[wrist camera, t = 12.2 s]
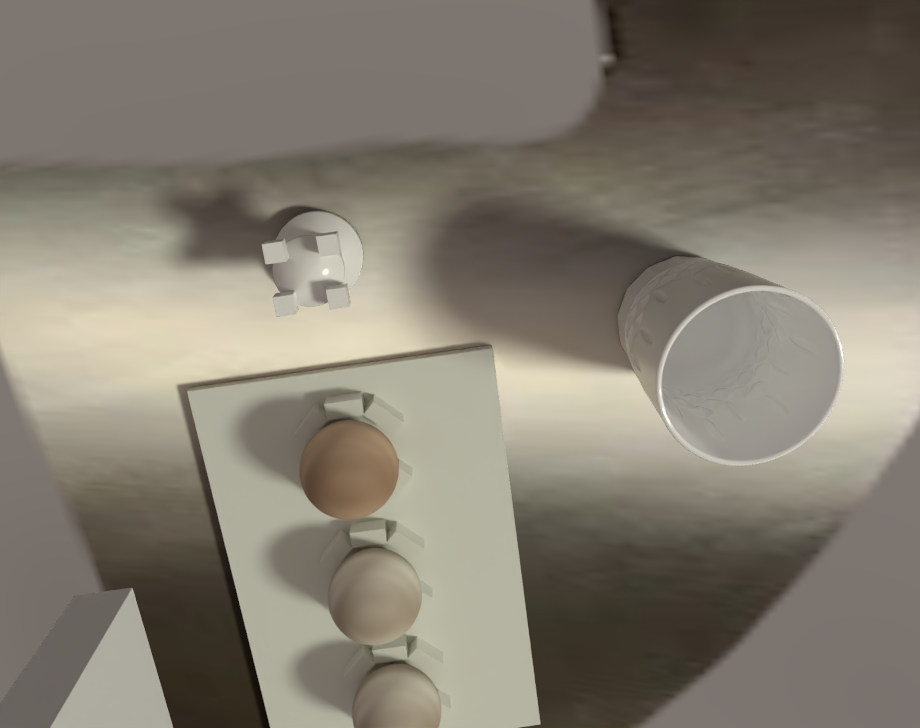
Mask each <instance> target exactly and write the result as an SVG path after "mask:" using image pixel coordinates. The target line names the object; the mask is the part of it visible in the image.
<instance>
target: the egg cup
mask: <svg viewBox="0 0 920 728" xmlns="http://www.w3.org/2000/svg"><path fill="white" fill-rule="evenodd" d="M262 249H263V254H264V259H265V264H273V278H274V282H275V284H276V286H277V288H278V290H279V291H280V293H276V294H275V295H274V296H273V302H274V307H275V312H276V317H280V316H287V315H294V314H297V312H298V310H299V308H298V305H300V306H305V307H315V306H320V305H322V304H325V303H327V302H328V304H329V309H336V308H343V307H349V306H350V303H351V301H350V295H349V289H350V288H351V287H352V286H353V285H354V283H355V282H356V280H357V279H358V277H359V274H360V272H361V269H362V266H363V260H364V251H363V245H362V242H361V239H360V237H359V235H358V233H357V231H356V230H355V228H354V227H353V226H352V225H351V224H350V223H349V222H348V221H347V220H346V219H344V218H343V217H341V216H339V215H337V214H335V213H332V212H329V211H324V210H313V211H307V212H304V213H301V214H299V215H297V216H295V217H294V218H292V219H291V220H290V221H289V222H288V223H287V224H286V225H285V226H284V227H283V228H282V229H281V231H280V232H279V234H278V236H277V238H276V240H271V241H265V242H263V243H262Z"/></svg>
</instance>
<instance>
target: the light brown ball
mask: <svg viewBox="0 0 920 728" xmlns="http://www.w3.org/2000/svg"><path fill="white" fill-rule="evenodd" d="M299 475H300V482H301V485H302V488H303V490H304V493H305V495H306V496H307V498H308V500H309V501H310V502H311V503H312V504H313V505H314V506H315V507H316V508H317V509H318V510H320V511H321V512H323V513H324V514H326V515H328V516H331V517H334V518H337V519H343V520H353V519H359V518H363V517H366V516H368V515H371V514H373V513H374V512H376V511H377V510H379V509H380V508H381V507H382V506H383V505H384V504H385V503H386V502H387V501H388V500H389V498H390V497H391V495H392V494H393V492H394V490H395V487H396V484H397V481H398V475H399V464H398V458H397V454H396V452H395V449H394V447H393V445H392V443H391V442H390V440H389V439H388V438H387V437H386V436H385V435H384V434H383V433H382V432H381V431H380V430H379V429H377V428H376V427H374V426H372V425H370V424H368V423H365V422H361V421H355V420H345V421H339V422H335V423H332V424H330V425H328V426H326V427H324V428H322V429H321V430H319V431H318V432H317V433H316V434H315V435H314V436H313V437H312V438H311V439H310V440H309V442H308V443H307V445H306V447H305V449H304V451H303V453H302V456H301V460H300V466H299Z"/></svg>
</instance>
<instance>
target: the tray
mask: <svg viewBox="0 0 920 728" xmlns="http://www.w3.org/2000/svg"><path fill="white" fill-rule="evenodd" d="M187 394H188V398H189V402H190V406H191V410H192V414H193V418H194V422H195V426H196V430H197V434H198V438H199V442H200V446H201V450H202V454H203V458H204V462H205V467H206V471H207V475H208V479H209V483H210V487H211V491H212V495H213V499H214V503H215V507H216V511H217V515H218V519H219V523H220V527H221V531H222V535H223V539H224V543H225V547H226V551H227V555H228V559H229V563H230V567H231V571H232V575H233V579H234V583H235V587H236V591H237V596H238V600H239V604H240V608H241V612H242V616H243V620H244V624H245V628H246V632H247V636H248V640H249V644H250V648H251V652H252V656H253V660H254V664H255V668H256V672H257V676H258V680H259V684H260V688H261V692H262V696H263V700H264V704H265V708H266V712H267V716H268V720H269V725H270V728H354V725H353V719H352V706H353V701H354V697H355V695H356V692H357V690H358V688H359V686H360V685H361V683H362V682H363V681H364V679H365V678H366V677H367V676H368V675H369V674H371V673H372V672H373V671H375V670H376V669H378V668H380V667H383V666H386V665H389V664H407V665H411V666H413V667H416V668H417V669H419V670H421V671H422V672H424V673H425V674H426V675H427V676H428V677H429V678H430V679H431V680H432V682H433V683H434V685H435V687H436V688H437V691H438V693H439V696H440V700H441V720H440V724H439V728H518V727H525V726H532V725H539V724H540V718H539V710H538V702H537V694H536V686H535V678H534V670H533V662H532V655H531V647H530V639H529V631H528V623H527V615H526V607H525V600H524V592H523V584H522V576H521V568H520V560H519V552H518V545H517V537H516V529H515V521H514V513H513V505H512V497H511V489H510V482H509V474H508V466H507V458H506V450H505V442H504V434H503V427H502V419H501V411H500V403H499V395H498V387H497V379H496V372H495V364H494V356H493V348H492V345H489V346H482V347H475V348H468V349H461V350H454V351H447V352H440V353H433V354H426V355H418V356H411V357H404V358H397V359H390V360H383V361H376V362H369V363H362V364H355V365H348V366H340V367H333V368H326V369H319V370H312V371H305V372H298V373H291V374H284V375H277V376H270V377H263V378H255V379H248V380H241V381H234V382H227V383H220V384H213V385H206V386H199V387H192V388H189V390H188V391H187ZM345 420H355V421H361V422H365V423H368V424H370V425H372V426H374V427H376V428H377V429H379V430H380V431H381V432H382V433H383V434H384V435H385V436H386V437H387V438H388V439H389V440H390V442H391V443H392V445H393V447H394V449H395V452H396V454H397V458H398V464H399V475H398V481H397V484H396V487H395V490H394V492H393V494H392V495H391V497H390V498H389V500H388V501H387V502H386V503H385V504H384V505H383V506H382V507H381V508H380V509H379V510H377V511H376V512H374V513H373V514H371V515H368V516H366V517H363V518H359V519H353V520H343V519H337V518H334V517H331V516H328V515H326V514H324V513H323V512H321V511H320V510H318V509H317V508H316V507H315V506H314V505H313V504H312V503H311V502H310V501H309V500H308V498H307V496H306V495H305V493H304V490H303V488H302V485H301V482H300V475H299V466H300V460H301V456H302V453H303V451H304V449H305V447H306V445H307V443H308V442H309V440H310V439H311V438H312V437H313V436H314V435H315V434H316V433H317V432H318V431H319V430H321V429H322V428H324V427H326V426H328V425H330V424H332V423H335V422H339V421H345ZM370 548H382V549H387V550H391V551H393V552H396V553H397V554H399V555H401V556H402V557H404V558H405V559H406V560H407V561H408V562H409V563H410V564H411V565H412V567H413V568H414V569H415V571H416V573H417V575H418V578H419V580H420V584H421V590H422V602H421V607H420V611H419V613H418V616H417V618H416V620H415V622H414V623H413V625H412V626H411V627H410V629H409V630H408V631H407V632H406V633H405V634H403V635H402V636H401V637H399V638H398V639H396V640H394V641H392V642H389V643H386V644H382V645H365V644H361V643H358V642H356V641H354V640H352V639H350V638H348V637H347V636H345V635H344V634H343V633H342V632H341V631H340V630H339V628H338V627H337V626H336V624H335V623H334V621H333V619H332V617H331V614H330V611H329V606H328V590H329V585H330V582H331V579H332V577H333V575H334V573H335V571H336V570H337V568H338V567H339V566H340V564H341V563H342V562H343V561H344V560H346V559H347V558H348V557H349V556H351V555H353V554H354V553H357V552H359V551H362V550H365V549H370Z"/></svg>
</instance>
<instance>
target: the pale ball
mask: <svg viewBox="0 0 920 728" xmlns="http://www.w3.org/2000/svg"><path fill="white" fill-rule="evenodd" d="M352 719H353V725H354V728H439V724H440V720H441V700H440V696H439V693H438V691H437V688H436V687H435V685H434V683H433V682H432V680H431V679H430V678H429V677H428V676H427V675H426V674H425V673H424V672H422V671H421V670H419V669H417V668H416V667H413V666H411V665H407V664H389V665H386V666H383V667H380V668H378V669H376V670H375V671H373V672H372V673H371V674H369V675H368V676H367V677H366V678H365V679H364V681H363V682H362V683H361V685H360V686H359V688H358V690H357V692H356V695H355V697H354V701H353V706H352Z"/></svg>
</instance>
